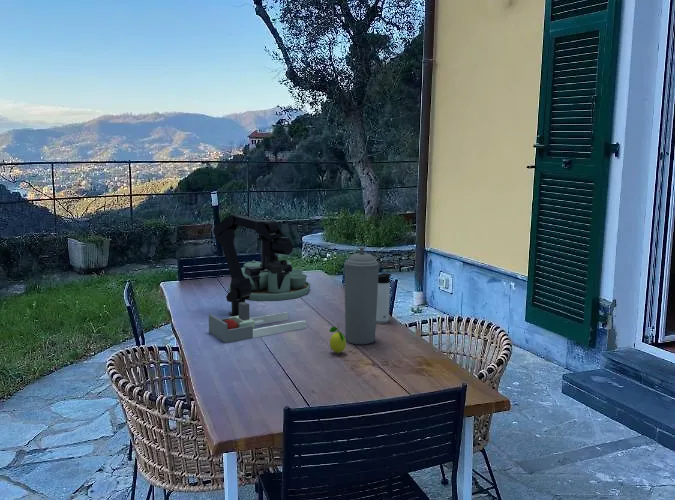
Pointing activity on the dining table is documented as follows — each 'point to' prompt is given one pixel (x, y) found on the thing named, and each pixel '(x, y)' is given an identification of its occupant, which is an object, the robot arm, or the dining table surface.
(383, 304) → the travel mug
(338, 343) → the lemon
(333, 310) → the dining table surface
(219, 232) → the robot arm
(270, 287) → the tea set
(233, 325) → the onion
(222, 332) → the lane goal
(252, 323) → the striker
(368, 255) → the canister
